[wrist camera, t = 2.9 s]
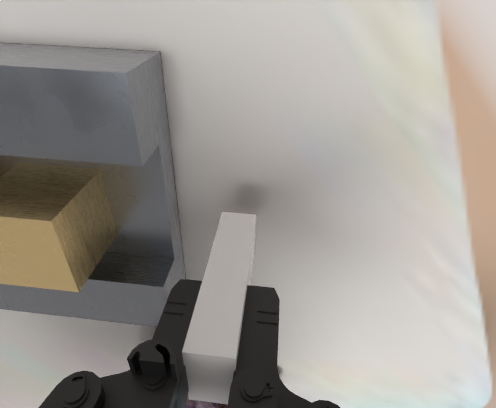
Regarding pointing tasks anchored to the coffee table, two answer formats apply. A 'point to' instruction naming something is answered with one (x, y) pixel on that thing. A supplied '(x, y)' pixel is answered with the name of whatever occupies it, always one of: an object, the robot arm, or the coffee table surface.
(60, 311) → the rail
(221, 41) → the coffee table surface
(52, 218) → the brass block
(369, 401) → the coffee table surface
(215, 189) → the coffee table surface
